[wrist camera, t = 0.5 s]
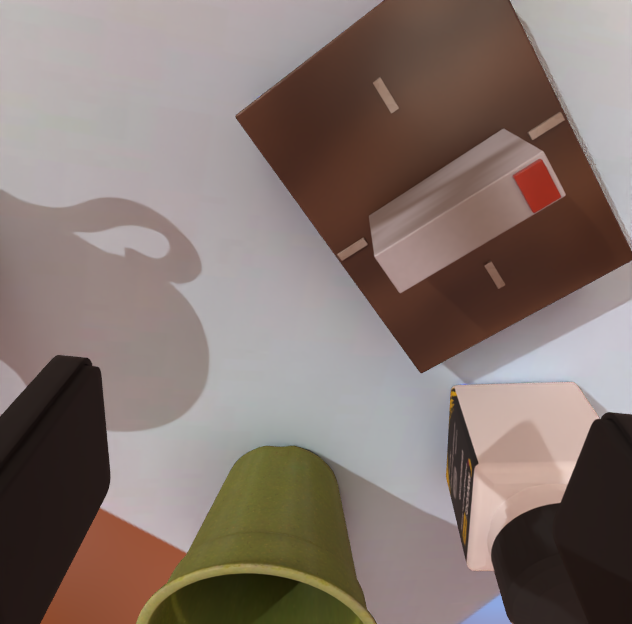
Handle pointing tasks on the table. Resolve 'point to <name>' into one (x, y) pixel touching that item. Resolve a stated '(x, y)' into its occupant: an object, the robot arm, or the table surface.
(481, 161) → the tap handle
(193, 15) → the table surface
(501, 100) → the tap base
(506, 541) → the medicine bottle
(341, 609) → the plant pot
